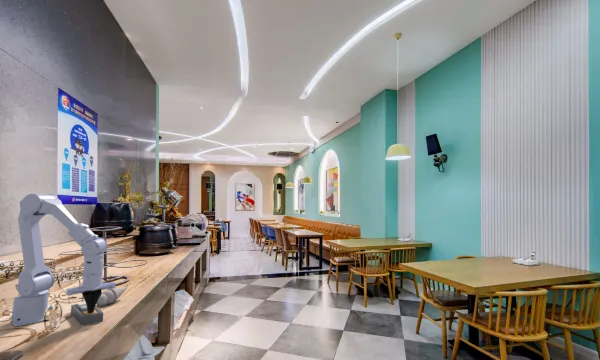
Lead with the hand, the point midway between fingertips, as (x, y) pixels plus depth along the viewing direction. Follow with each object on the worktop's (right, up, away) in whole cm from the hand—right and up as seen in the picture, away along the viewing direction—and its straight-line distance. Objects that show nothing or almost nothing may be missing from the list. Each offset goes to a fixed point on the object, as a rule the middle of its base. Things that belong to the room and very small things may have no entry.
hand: (90, 312), depth 114 cm
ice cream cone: (-4, -4, +21) cm, 21 cm away
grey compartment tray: (-4, -3, +3) cm, 6 cm away
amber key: (0, -1, 0) cm, 1 cm away
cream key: (-7, -1, +7) cm, 10 cm away
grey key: (-4, 0, +3) cm, 5 cm away
